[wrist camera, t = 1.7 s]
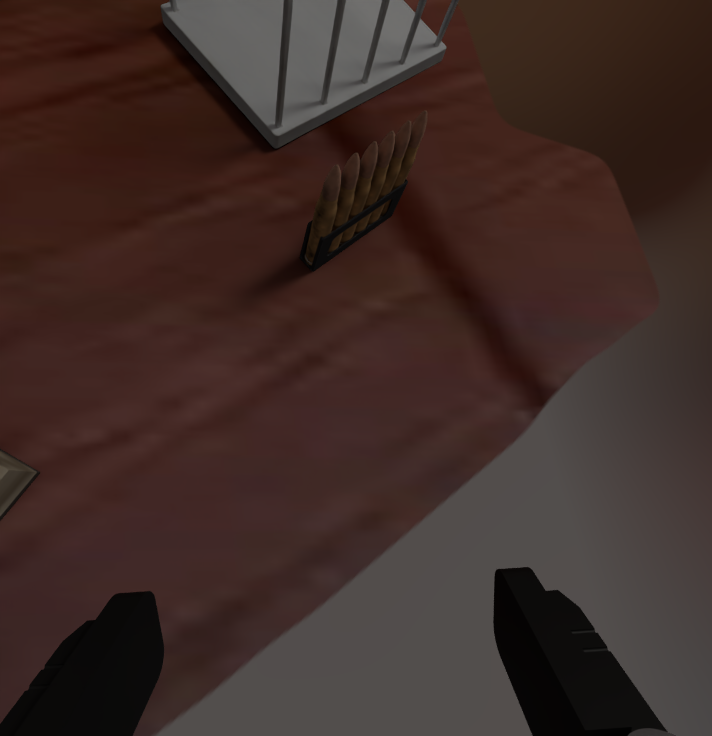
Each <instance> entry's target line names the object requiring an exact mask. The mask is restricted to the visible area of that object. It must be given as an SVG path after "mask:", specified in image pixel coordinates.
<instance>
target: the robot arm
mask: <svg viewBox="0 0 712 736" xmlns="http://www.w3.org/2000/svg"><path fill="white" fill-rule="evenodd" d="M493 623H494V634H495V640H496V644H497V648H498V651H499V654H500V657H501V659H502V662H503V664H504V666H505V669H506V672H507V674H508V676H509V679H510V681H511V684H512V686H513V689H514V691H515V693H516V696H517V699H518V701H519V703H520V706H521V708H522V711H523V713H524V715H525V718H526V720H527V723H528V725H529V728H530V730H531V733H532V735H533V736H675V735H673V734H670V733H668V732H667V731H666V729H665V728H664V727H663V725H662V724H661V722H660V721H659V720H658V718H657V717H656V715H655V714H654V713H653V711H652V710H651V709H650V707H649V705H648V704H647V703H646V701H645V700H644V698H643V697H642V695H641V694H640V693H639V691H638V690H637V688H636V687H635V686H634V684H633V683H632V682H631V680H630V679H629V677H628V676H627V674H626V673H625V671H624V670H623V668H622V667H621V666H620V664H619V663H618V661H617V660H616V658H615V657H614V656H613V654H612V653H611V652H610V651H608V649H607V646H606V644H605V643H604V642H603V640H602V639H601V637H600V636H599V634H598V633H595V630H594V627H593V626H592V625H591V623H590V622H589V620H588V619H587V617H586V616H585V614H584V613H583V612H582V610H581V609H580V608H579V607H578V606H577V605H576V604H574V603H573V602H572V601H571V600H570V599H568V598H567V597H566V596H565V595H563V594H562V593H561V592H560V591H558V590H553V591H545V589H544V588H543V586H542V584H541V583H540V581H539V580H538V579H537V577H536V575H535V573H534V572H533V571H532V569H530V568H529V567H523V568H508V569H497V570H496V572H495V582H494V621H493ZM163 658H164V643H163V638H162V632H161V627H160V622H159V616H158V611H157V606H156V600H155V597H154V594H153V593H152V592H150V591H146V592H131V593H118V594H115V595H114V596H113V597H112V598H111V599H110V600H109V602H108V603H107V604H106V606H105V607H104V609H103V610H102V612H101V613H100V614H99V616H98V617H97V619H96V620H90V621H86V622H85V623H84V624H83V625H82V626H80V627H79V628H78V629H77V630H76V631H74V632H73V633H72V634H71V635H70V636H68V637H67V638H66V639H65V640H64V641H63V642H62V643H61V644H60V646H59V647H58V648H57V650H56V651H55V652H54V654H53V655H52V656H51V658H50V659H49V660H48V662H47V663H46V664H45V668H44V670H41V671H40V672H39V673H38V675H37V676H36V677H35V679H34V680H33V681H32V683H31V684H30V685H29V686H30V687H29V690H28V691H25V692H24V693H23V695H22V696H21V697H20V699H19V700H18V701H17V703H16V704H15V705H14V706H13V708H12V709H11V710H10V712H9V713H8V714H7V716H6V717H5V718H4V720H3V721H2V722H1V724H0V736H133V733H134V731H135V729H136V727H137V725H138V722H139V720H140V718H141V716H142V714H143V711H144V709H145V707H146V705H147V703H148V700H149V698H150V696H151V694H152V691H153V689H154V687H155V685H156V683H157V680H158V678H159V675H160V672H161V669H162V664H163Z"/></svg>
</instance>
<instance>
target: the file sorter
mask: <svg viewBox="0 0 712 736" xmlns="http://www.w3.org/2000/svg"><path fill="white" fill-rule="evenodd" d="M426 1H427V0H419V3H418V6H417V9H416V12H414V11H413V10H412V9H411V8H410V7H409V6H408V5H407V4H406V3H405V2H404V0H170V2H168V3H165V4H162V5H161V12H162V18H163V23H164V25H165V26H166V27H167V28H168V29H169V30H170V32H171V33H172V34H173V35H174V36H175V37H176V38H177V39H178V40H179V42H180V43H181V44H182V45H183V46H184V47H185V48H186V50H187V51H188V52H189V53H190V54H191V55H192V56H193V57H194V59H195V60H196V61H197V62H198V63H199V64H200V65H201V66H202V68H203V69H204V70H205V71H206V72H207V73H208V74H209V75H210V77H211V78H212V79H213V80H214V81H215V82H216V83H217V84H218V85H219V87H220V88H221V89H222V90H223V91H224V92H225V93H226V94H227V96H228V97H229V98H230V99H231V100H232V101H233V102H234V103H235V105H236V106H237V107H238V108H239V109H240V110H241V111H242V113H243V114H244V115H245V116H246V117H247V118H248V119H249V120H250V122H251V123H252V124H253V125H254V126H255V127H256V128H257V129H258V131H259V132H260V133H261V134H262V135H263V136H264V137H265V139H266V140H267V141H268V142H269V143H270V144H271V146H272V147H274V148H279V147H281V146H283V145H285V144H286V143H288V142H290V141H292V140H294V139H296V138H297V137H299V136H301V135H303V134H305V133H307V132H309V131H310V130H312V129H314V128H316V127H318V126H320V125H322V124H324V123H326V122H327V121H329V120H331V119H333V118H335V117H337V116H339V115H341V114H343V113H344V112H346V111H348V110H350V109H352V108H354V107H356V106H358V105H359V104H361V103H363V102H365V101H367V100H369V99H371V98H373V97H375V96H377V95H378V94H380V93H382V92H384V91H386V90H388V89H390V88H391V87H393V86H395V85H397V84H399V83H401V82H403V81H405V80H407V79H408V78H410V77H412V76H414V75H416V74H418V73H420V72H421V71H423V70H425V69H427V68H429V67H431V66H433V65H435V64H437V63H439V62H441V60H442V58H443V55H444V53H445V50H446V46H445V45H444V44H443V43H442V42H441V40H442V38H443V35H444V33H445V31H446V29H447V26H448V24H449V22H450V20H451V17H452V15H453V13H454V10H455V8H456V6H457V3H458V1H459V0H452V2H451V4H450V6H449V9H448V11H447V13H446V16H445V18H444V21H443V23H442V26H441V28H440V31H439V34H438V36H436V35H435V34H434V33H433V32H432V31H431V30H430V29H429V27H428V26H427V25H426V24H425V23H424V22H423V21H422V20H421V19H420V18H421V15H422V12H423V9H424V6H425V4H426Z"/></svg>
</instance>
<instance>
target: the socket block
mask: <svg viewBox="0 0 712 736" xmlns="http://www.w3.org/2000/svg"><path fill="white" fill-rule="evenodd" d="M39 474H40V472H39V471H37V470H35V469H34V468H32V467H30V466H29V465H27V464H25V463H23V462H22V461H20V460H18V459H17V458H15V457H13V456H11V455H10V454H8V453H6V452H5V451H3V450H1V449H0V521H1V519H2V518H3V517H4V516H5V515H6V513H7V512H8V511H9V510H10V509H11V507H12V506H13V505H14V504H15V503H16V501H17V500H18V499H19V498H20V497H21V495H22V494H23V493H24V492H25V491H26V489H27V488H28V487H29V486H30V485H31V483H32V482H33V481H34V480H35V478H36V477H37V476H38V475H39Z"/></svg>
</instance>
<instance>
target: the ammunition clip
mask: <svg viewBox="0 0 712 736" xmlns="http://www.w3.org/2000/svg"><path fill="white" fill-rule="evenodd" d="M426 123H427V111H423V112H422V113H421V114H420V115H419V116H418V117H417V118H416V120H415V121H414V123H413V124H412V126H411V121H407V122H406V123H405V124H404V125H403V126H402V127H401V128H400V130H399V131H398V133H397V134H396V136H395V133H394V131H391V132H389V133H388V134H387V135H386V137H385V138H384V139H383V141H382V142H381V144H380V146H379V148H378V146H377V142H376V141H374V142H373V143H372V144H370V145H369V147H368V148H367V150H366V151H365V153H364V154H363V156H362V159H361V161H360V159H359V155H358V153H355V154H353V155H352V156H351V158H350V159H349V160H348V162H347V164H346V165H345V168H344V170H343V172H342V175H341V172H340V168H339V166H338V165H335V166H334V167H333V168H332V169H331V170H330V172H329V174H328V175H327V177H326V180H325V182H324V185H323V189H322V192H321V195H320V198H319V200H318V202H317V204H316V207H315V212H314V216H313V220H312V221H311V222H309V223H308V225H307V229H306V233H305V237H304V242H303V246H302V250H301V254H300V259H301V260H302V261H303V262H304V263H305V264H306V265H307V266H308V267H309V269H310V270H311V271H313V272H314V271H315V270H316V269H318V268H319V267H321V266H322V265H323V264H325V263H326V262H328V261H329V260H330V259H332V258H333V257H335V256H336V255H338V254H339V253H340V252H342V251H343V250H345V249H346V248H347V247H349V246H350V245H352V244H353V243H354V242H356V241H357V240H359V239H360V238H361V237H363V236H364V235H366V234H367V233H368V232H370V231H371V230H373V229H374V228H375V227H377V226H378V225H380V224H381V223H382V222H384V221H385V220H387V219H388V218H389V217H391V216H392V214H393V212H394V210H395V208H396V206H397V204H398V202H399V200H400V197H401V195H402V193H403V191H404V189H405V187H406V185H407V183H408V181H407V180H406V177H407V175H408V173H409V171H410V169H411V167H412V165H413V163H414V160H415V156H416V152H417V150H418V147H419V144H420V142H421V139H422V137H423V134H424V131H425V128H426Z"/></svg>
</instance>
